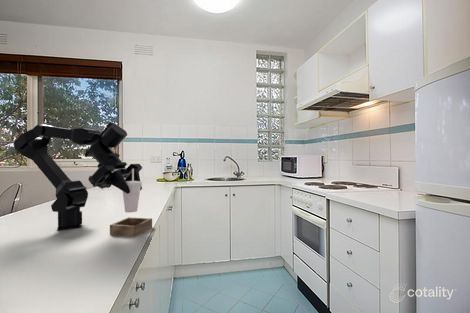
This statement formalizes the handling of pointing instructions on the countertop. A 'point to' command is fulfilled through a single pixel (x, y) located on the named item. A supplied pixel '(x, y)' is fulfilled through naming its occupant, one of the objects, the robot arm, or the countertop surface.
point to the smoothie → (132, 195)
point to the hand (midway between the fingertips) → (135, 191)
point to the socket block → (131, 226)
